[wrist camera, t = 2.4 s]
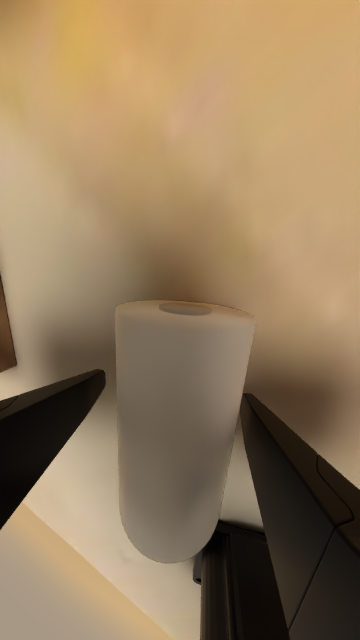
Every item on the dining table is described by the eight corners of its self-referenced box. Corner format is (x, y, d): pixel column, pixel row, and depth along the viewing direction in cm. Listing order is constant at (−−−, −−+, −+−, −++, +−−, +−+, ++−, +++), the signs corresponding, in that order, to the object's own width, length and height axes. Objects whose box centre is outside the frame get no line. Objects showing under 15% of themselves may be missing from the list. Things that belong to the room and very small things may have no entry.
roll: (205, 436, 11) (238, 556, 6) (129, 440, 11) (103, 574, 6) (224, 301, 9) (296, 329, 4) (129, 295, 8) (87, 320, 4)
